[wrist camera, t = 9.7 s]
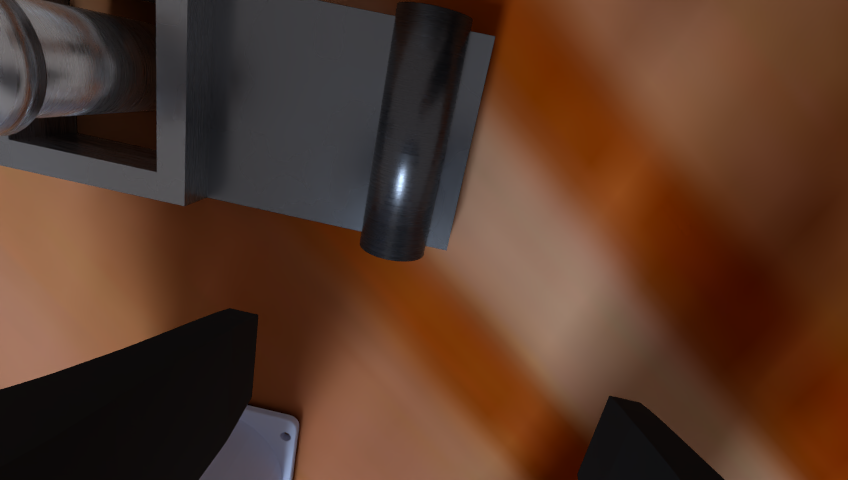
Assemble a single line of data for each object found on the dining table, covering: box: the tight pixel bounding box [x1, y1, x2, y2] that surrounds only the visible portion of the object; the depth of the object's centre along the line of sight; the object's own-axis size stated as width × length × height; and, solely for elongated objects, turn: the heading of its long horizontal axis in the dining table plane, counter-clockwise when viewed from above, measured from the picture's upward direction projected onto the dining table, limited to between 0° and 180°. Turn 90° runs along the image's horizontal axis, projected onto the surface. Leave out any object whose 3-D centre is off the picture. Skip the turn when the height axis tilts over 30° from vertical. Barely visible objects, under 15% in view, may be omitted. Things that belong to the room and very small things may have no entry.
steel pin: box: [0, 0, 157, 136], centre depth 14 cm, size 4×4×7 cm
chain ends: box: [0, 0, 495, 261], centre depth 15 cm, size 8×26×3 cm, turn 79°
